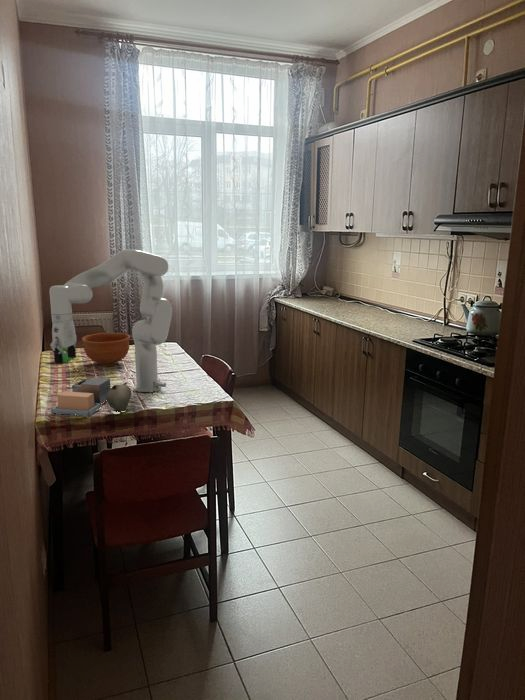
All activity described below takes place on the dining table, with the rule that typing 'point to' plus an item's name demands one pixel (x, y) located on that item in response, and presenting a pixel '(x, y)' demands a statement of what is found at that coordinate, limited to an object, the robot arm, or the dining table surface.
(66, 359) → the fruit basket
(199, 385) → the dining table surface
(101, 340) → the bowl
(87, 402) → the tan rectangular block
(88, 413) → the tray
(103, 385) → the dispenser
